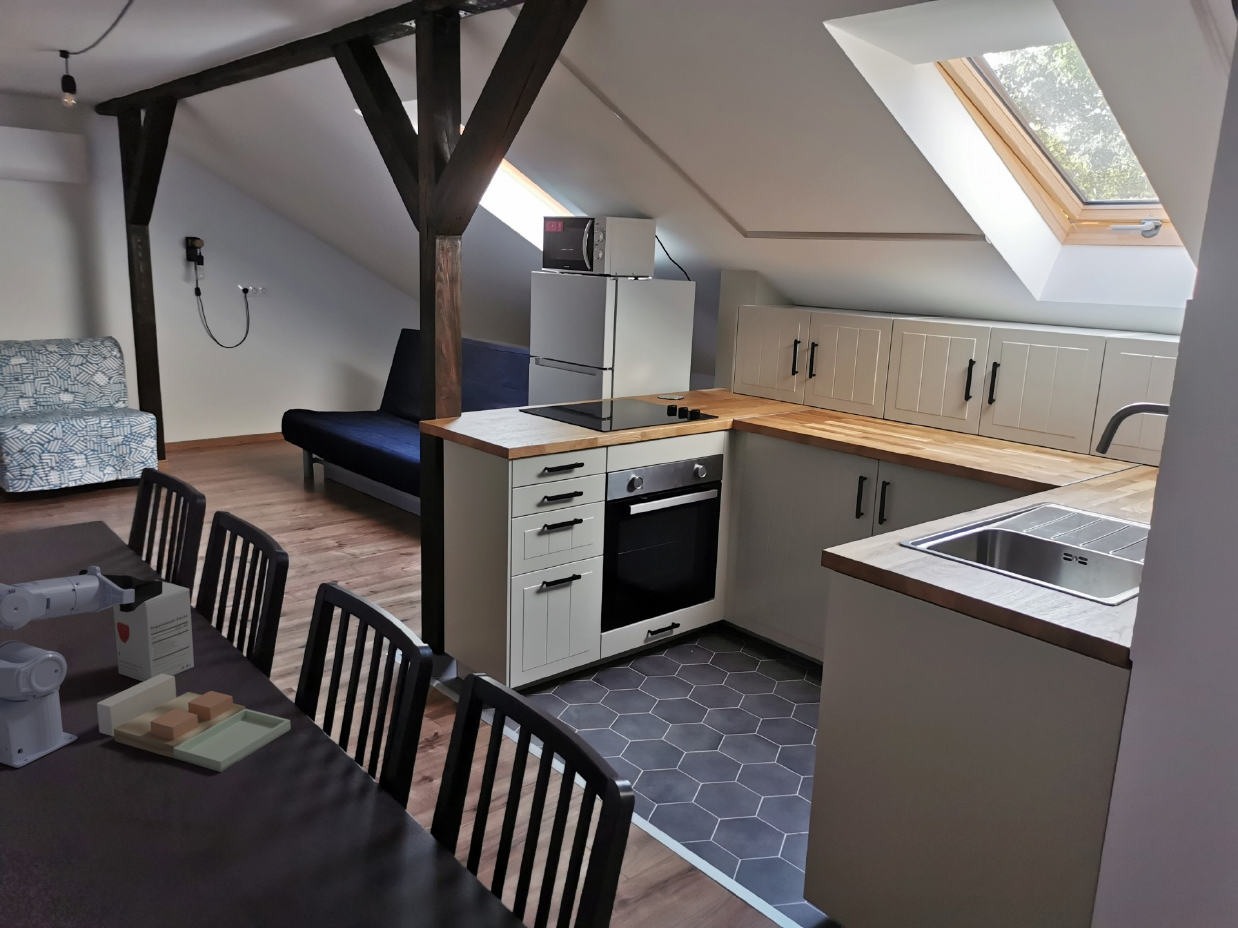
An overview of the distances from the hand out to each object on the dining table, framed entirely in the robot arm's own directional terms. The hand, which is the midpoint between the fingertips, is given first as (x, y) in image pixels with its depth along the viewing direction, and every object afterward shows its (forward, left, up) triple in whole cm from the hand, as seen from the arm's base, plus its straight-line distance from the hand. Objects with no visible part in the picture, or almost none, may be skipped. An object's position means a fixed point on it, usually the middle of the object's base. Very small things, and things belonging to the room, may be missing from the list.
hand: (144, 584), depth 153 cm
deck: (-7, -14, -19) cm, 25 cm away
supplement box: (+7, +7, -19) cm, 22 cm away
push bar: (-7, -5, -19) cm, 21 cm away
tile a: (-10, -16, -17) cm, 26 cm away
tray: (-7, -24, -19) cm, 32 cm away
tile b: (-3, -16, -17) cm, 24 cm away
